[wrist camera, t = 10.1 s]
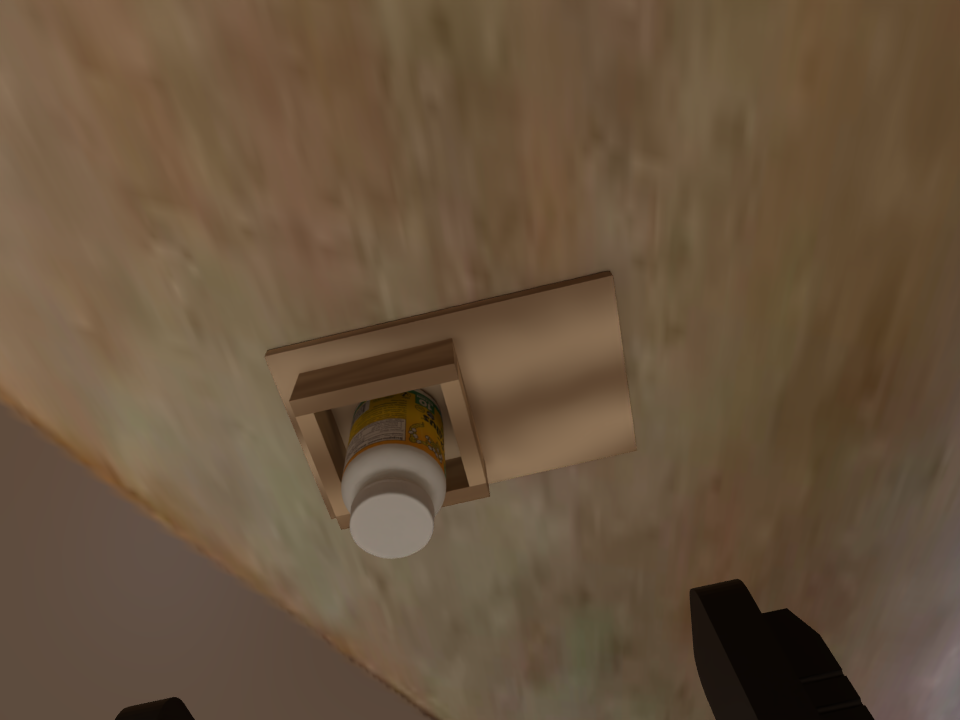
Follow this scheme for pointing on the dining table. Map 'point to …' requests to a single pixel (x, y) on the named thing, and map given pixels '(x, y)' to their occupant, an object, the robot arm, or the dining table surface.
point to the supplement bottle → (394, 473)
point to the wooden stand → (474, 385)
